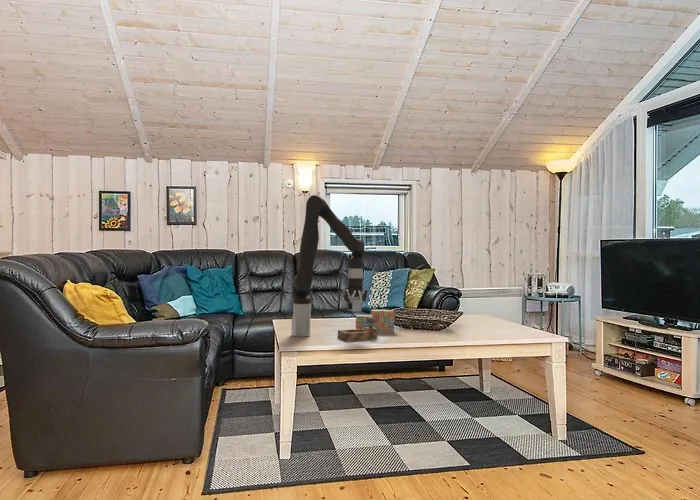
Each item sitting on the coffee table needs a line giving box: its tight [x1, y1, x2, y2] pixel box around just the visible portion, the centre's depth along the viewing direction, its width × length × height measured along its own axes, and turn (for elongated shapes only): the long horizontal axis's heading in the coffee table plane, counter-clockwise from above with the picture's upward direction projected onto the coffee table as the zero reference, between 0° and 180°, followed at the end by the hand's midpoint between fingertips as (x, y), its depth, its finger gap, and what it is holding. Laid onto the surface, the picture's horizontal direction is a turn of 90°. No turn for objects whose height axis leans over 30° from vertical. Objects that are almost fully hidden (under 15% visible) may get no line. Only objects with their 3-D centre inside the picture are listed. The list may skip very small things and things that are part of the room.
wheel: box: [367, 317, 375, 323], centre depth 265 cm, size 5×5×2 cm
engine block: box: [347, 297, 363, 313], centre depth 261 cm, size 5×5×7 cm
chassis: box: [337, 322, 378, 342], centre depth 262 cm, size 19×10×8 cm, turn 118°
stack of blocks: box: [355, 309, 396, 333], centre depth 284 cm, size 21×6×12 cm, turn 98°
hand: (355, 309), depth 261 cm, fingers closed on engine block, 5 cm apart
